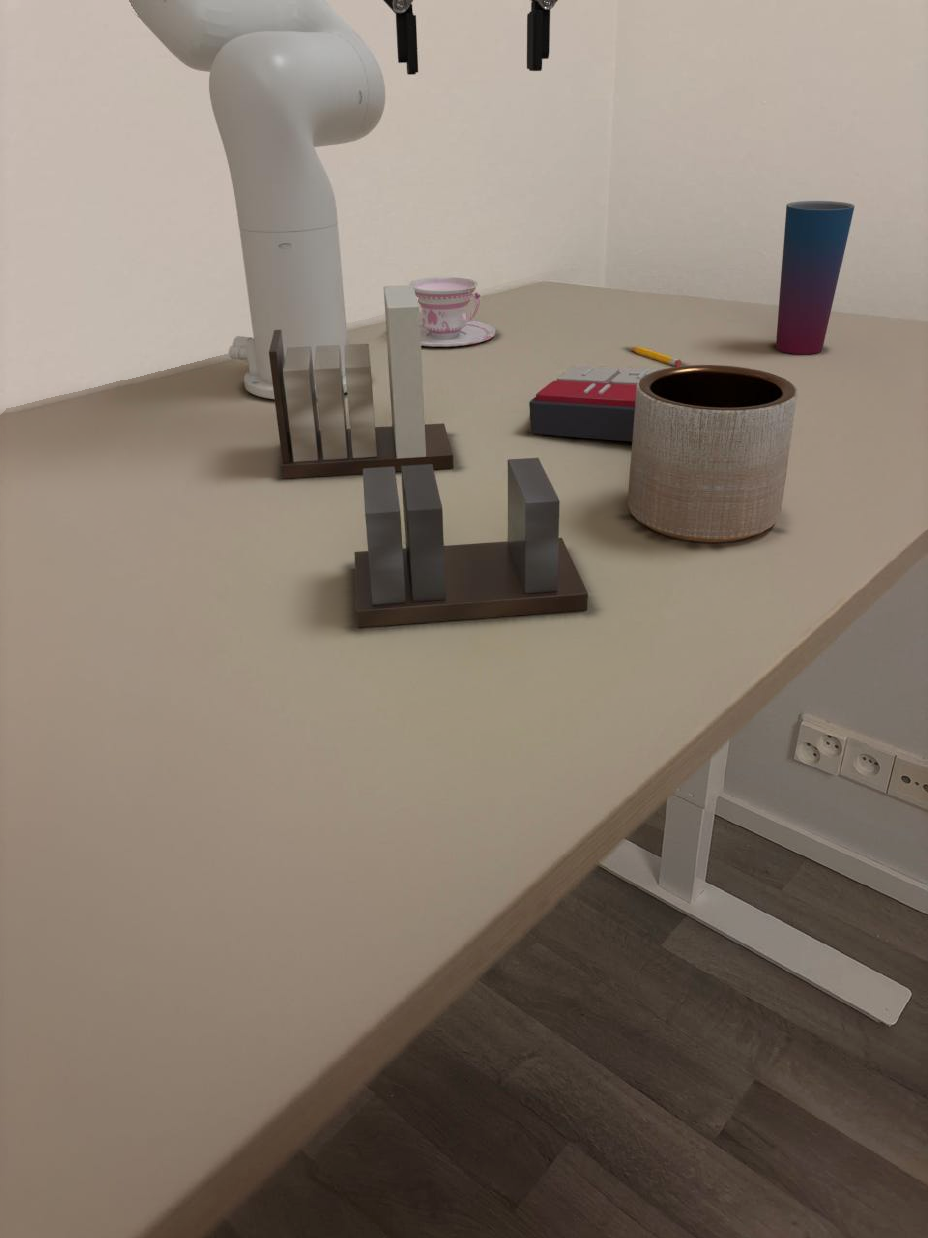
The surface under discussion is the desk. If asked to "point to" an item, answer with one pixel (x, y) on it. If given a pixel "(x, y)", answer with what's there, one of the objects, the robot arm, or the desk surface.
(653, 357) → the pencil
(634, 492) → the planter
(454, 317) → the teacup
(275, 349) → the brown rack
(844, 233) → the cup
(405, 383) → the white book
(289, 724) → the desk surface
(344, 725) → the desk surface
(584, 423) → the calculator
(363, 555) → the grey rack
